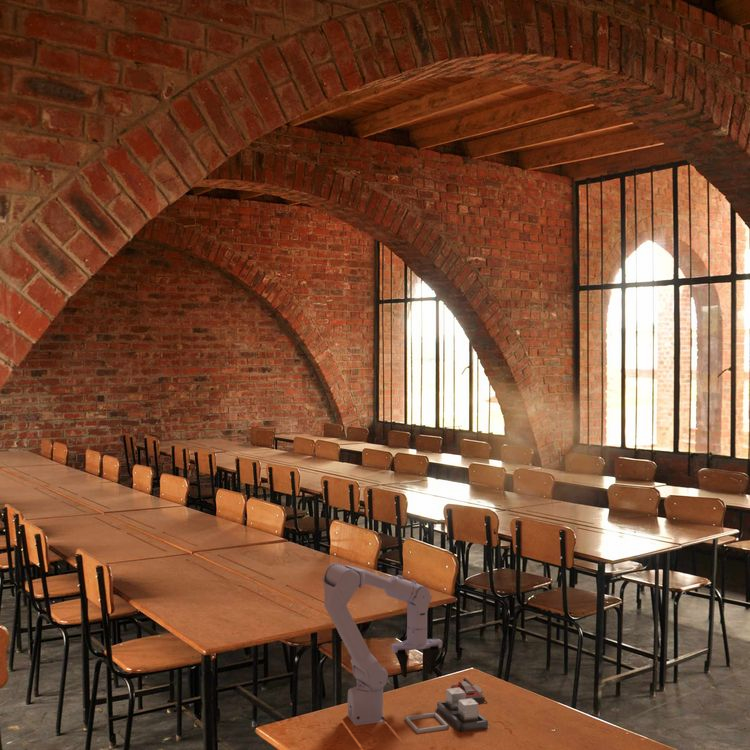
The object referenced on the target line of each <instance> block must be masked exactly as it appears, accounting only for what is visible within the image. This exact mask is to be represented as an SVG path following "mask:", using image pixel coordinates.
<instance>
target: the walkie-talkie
mask: <svg viewBox="0 0 750 750" xmlns="http://www.w3.org/2000/svg"><path fill="white" fill-rule="evenodd" d="M462 680H463V681H458V684H453V685H451V686H450V688H458V687H460V688H461V689H462V690H463V691H464V692H465V693H466V698H465V699H469V698H472V699H473V700H475V701H476V702H477V703H478V704H481V703H482V704H483V705H487V704H488V702H487V701H486V698H485V696H483V694H482V693H483V689H482V688H481V687H479V685H478V684H472V682H470V680H469V679H467V678H466V677H463V679H462Z"/></svg>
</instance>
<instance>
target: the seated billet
mask: <svg viewBox="0 0 750 750" xmlns="http://www.w3.org/2000/svg"><path fill="white" fill-rule="evenodd" d="M445 691H446V692H445V699H446V700H445V701H446V708H447V709H448V710H449V711H450V712H452V711H458V700H462V699H465V698H466V693H465V692H464V691H463V690H462V689H461V688H460V687H458V688H451V687H450V688H446V690H445Z"/></svg>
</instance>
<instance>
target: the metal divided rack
mask: <svg viewBox="0 0 750 750" xmlns="http://www.w3.org/2000/svg"><path fill="white" fill-rule="evenodd" d="M434 710H435V712H436V713H437V714H438V715H439V716H440V717H441V718H442V717H443V719H444V720H445V721H446V722H448V724H449V725H450V726H452V728H454V730H455V731H457V732H458V733H466V732H472V731H473V732H474V731H481V730H486V729H490V726H489V721H488V720H487V719H486V718H485V717H483V716H482V715H481V713H479V712H478V721H477V722H470V723H463V724H462V723H461V722H460V721H459V720H458V711H452V712H450V711H449V710H448V709H447V708H446V700H445V701H437V703H436V708H435V709H434Z"/></svg>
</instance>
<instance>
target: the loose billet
mask: <svg viewBox="0 0 750 750" xmlns="http://www.w3.org/2000/svg"><path fill="white" fill-rule="evenodd" d="M478 713H479V703H477V702H476V701H475V700H473V699H472V698H469V699H462V700H458V720H459V721H460V722H461V723H462V724H463V723H470V722H477V721H478Z"/></svg>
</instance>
